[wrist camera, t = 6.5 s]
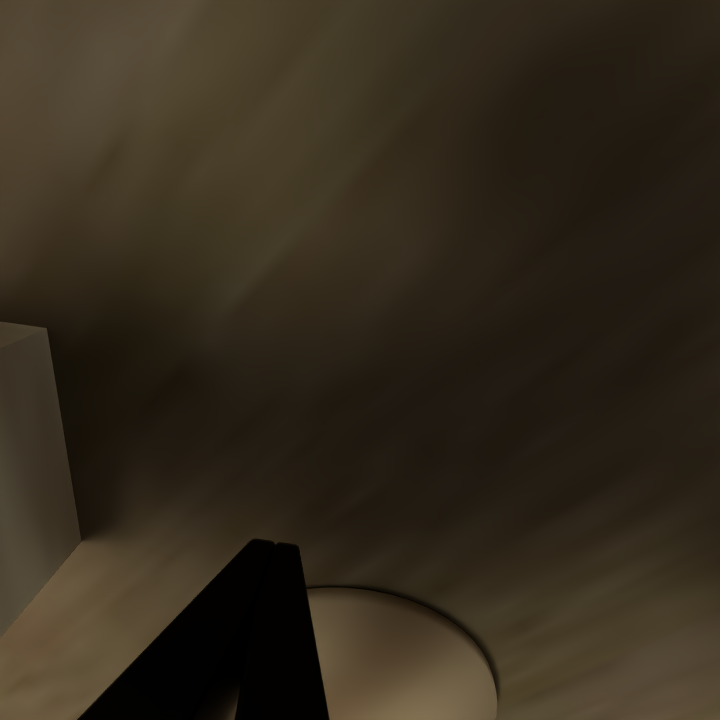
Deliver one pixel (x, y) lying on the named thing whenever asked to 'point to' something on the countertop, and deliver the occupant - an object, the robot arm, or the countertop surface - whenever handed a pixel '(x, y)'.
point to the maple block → (31, 472)
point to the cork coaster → (396, 660)
